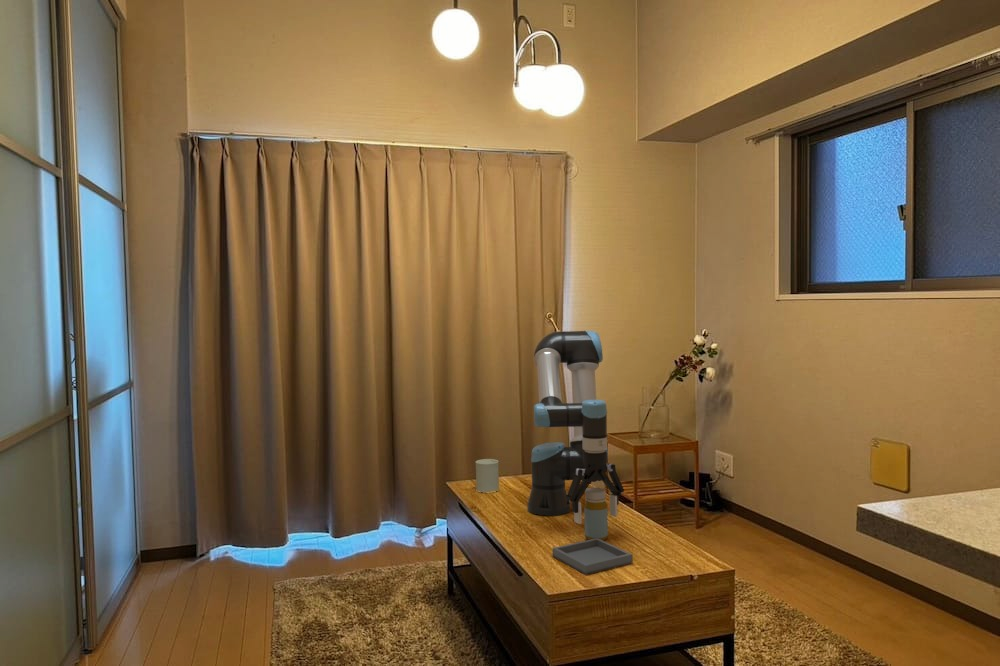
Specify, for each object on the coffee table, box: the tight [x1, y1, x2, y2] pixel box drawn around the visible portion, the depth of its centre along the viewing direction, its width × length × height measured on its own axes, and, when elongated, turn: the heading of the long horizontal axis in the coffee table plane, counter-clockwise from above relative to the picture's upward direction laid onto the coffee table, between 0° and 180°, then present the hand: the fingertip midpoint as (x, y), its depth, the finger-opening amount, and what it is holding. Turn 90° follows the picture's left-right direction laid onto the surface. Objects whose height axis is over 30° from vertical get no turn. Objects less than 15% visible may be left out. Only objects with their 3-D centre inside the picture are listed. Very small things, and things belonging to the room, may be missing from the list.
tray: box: [552, 538, 634, 576], centre depth 194 cm, size 16×16×2 cm
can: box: [475, 458, 500, 492], centre depth 270 cm, size 9×9×12 cm
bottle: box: [583, 487, 609, 541], centre depth 211 cm, size 7×7×15 cm
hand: (596, 519), depth 211 cm, fingers open, 13 cm apart
